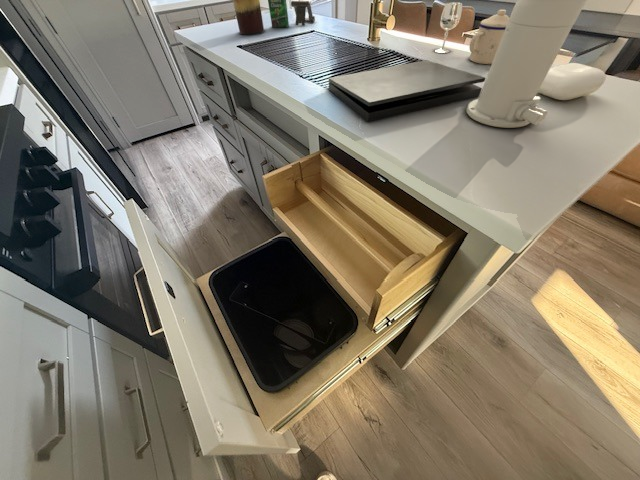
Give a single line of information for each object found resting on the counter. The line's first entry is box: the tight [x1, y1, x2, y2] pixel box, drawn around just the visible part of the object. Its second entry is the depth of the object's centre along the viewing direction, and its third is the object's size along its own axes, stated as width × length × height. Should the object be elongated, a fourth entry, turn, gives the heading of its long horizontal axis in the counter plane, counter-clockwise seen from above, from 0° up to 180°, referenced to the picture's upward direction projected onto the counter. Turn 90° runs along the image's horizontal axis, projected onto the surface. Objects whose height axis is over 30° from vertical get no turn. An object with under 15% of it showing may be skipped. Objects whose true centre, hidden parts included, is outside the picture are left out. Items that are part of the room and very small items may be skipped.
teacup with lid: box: [469, 9, 510, 65], centre depth 77 cm, size 12×9×12 cm
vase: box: [232, 0, 265, 36], centre depth 112 cm, size 11×11×20 cm
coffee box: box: [267, 0, 290, 29], centre depth 119 cm, size 8×3×13 cm, turn 70°
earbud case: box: [537, 62, 607, 101], centre depth 61 cm, size 10×13×5 cm
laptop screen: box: [328, 59, 486, 106], centre depth 65 cm, size 21×30×1 cm
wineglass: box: [434, 1, 463, 54], centre depth 84 cm, size 6×6×12 cm
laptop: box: [328, 81, 483, 123], centre depth 66 cm, size 21×30×2 cm
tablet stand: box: [290, 0, 316, 26], centre depth 124 cm, size 9×8×8 cm
